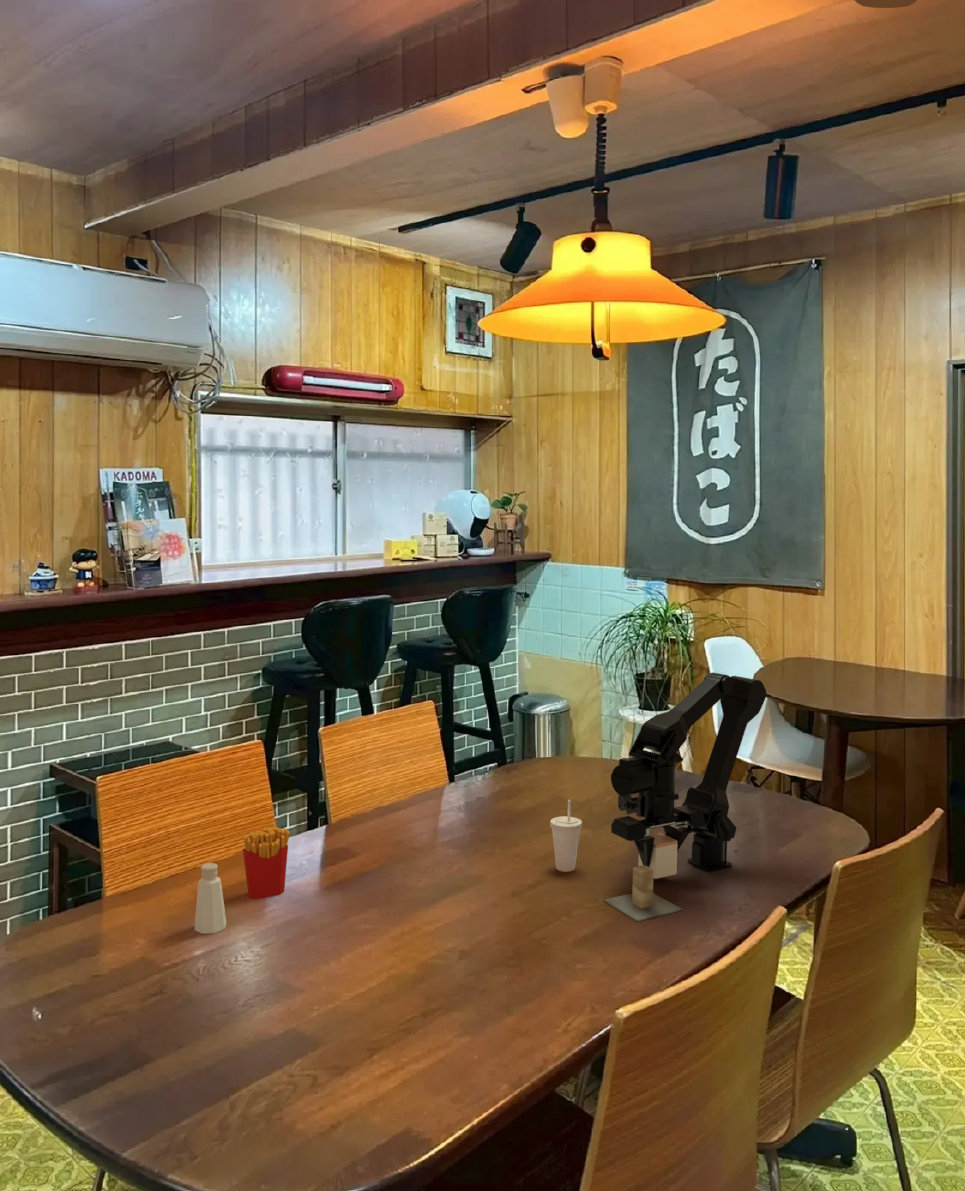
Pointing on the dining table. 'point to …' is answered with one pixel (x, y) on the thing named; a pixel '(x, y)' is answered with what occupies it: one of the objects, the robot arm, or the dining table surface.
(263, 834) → the french fries
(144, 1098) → the dining table surface
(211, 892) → the pepper shaker
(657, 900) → the grey flat square slab
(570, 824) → the smoothie
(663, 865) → the cream orange-topped box
